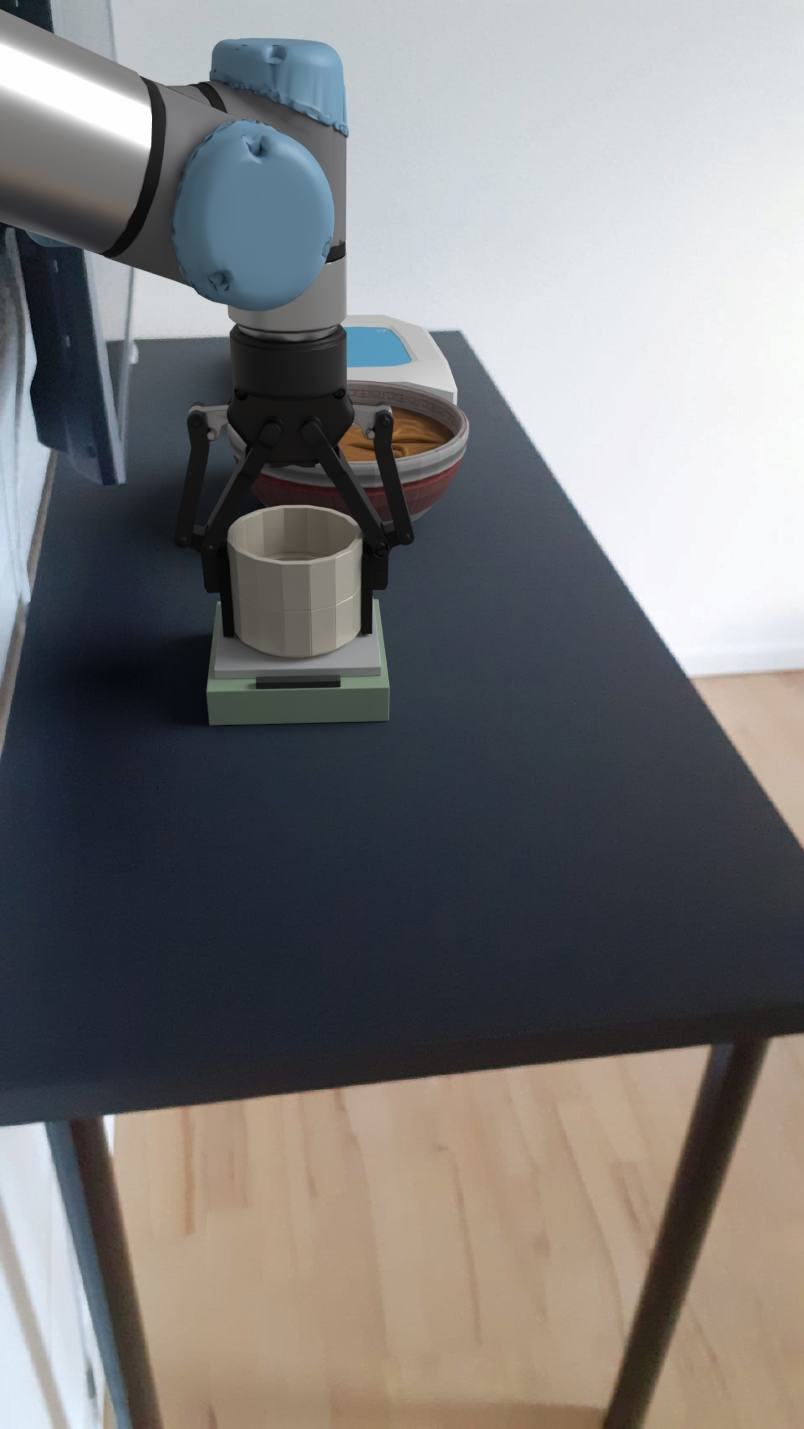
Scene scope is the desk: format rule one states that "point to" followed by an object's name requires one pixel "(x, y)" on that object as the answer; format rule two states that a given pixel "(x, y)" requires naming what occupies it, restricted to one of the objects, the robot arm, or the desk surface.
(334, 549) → the faceted beige cup
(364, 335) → the document scanner
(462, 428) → the bowl
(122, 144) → the robot arm
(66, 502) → the desk surface
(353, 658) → the scale
